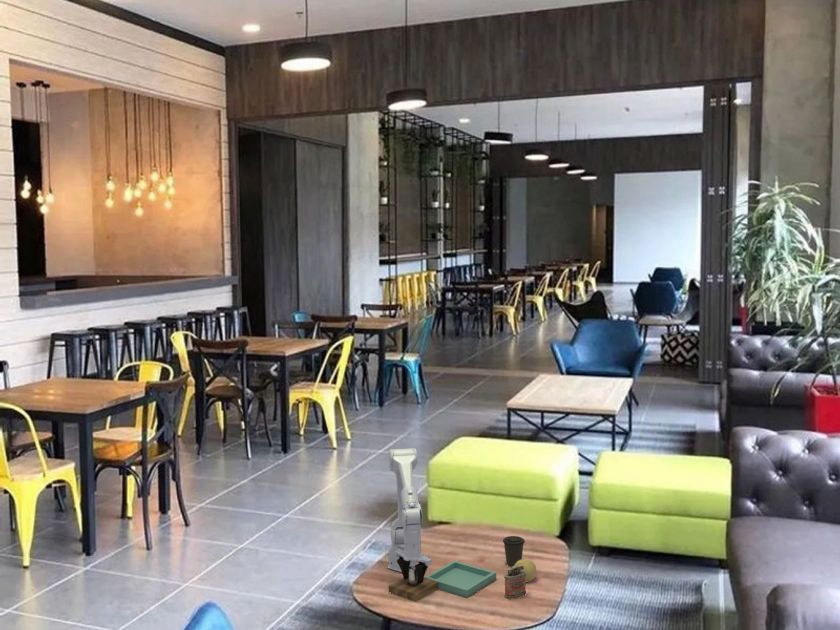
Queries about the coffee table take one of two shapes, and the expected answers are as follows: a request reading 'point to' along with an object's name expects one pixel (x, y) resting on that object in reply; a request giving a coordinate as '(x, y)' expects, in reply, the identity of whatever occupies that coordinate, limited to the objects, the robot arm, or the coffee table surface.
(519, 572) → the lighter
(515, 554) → the coffee cup
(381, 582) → the coffee table surface
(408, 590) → the pin block
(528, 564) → the apple
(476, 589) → the tray
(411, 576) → the pin
